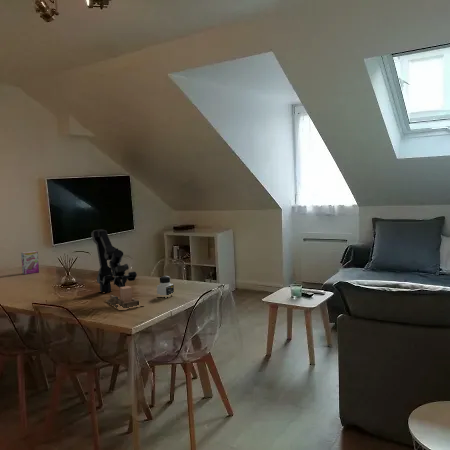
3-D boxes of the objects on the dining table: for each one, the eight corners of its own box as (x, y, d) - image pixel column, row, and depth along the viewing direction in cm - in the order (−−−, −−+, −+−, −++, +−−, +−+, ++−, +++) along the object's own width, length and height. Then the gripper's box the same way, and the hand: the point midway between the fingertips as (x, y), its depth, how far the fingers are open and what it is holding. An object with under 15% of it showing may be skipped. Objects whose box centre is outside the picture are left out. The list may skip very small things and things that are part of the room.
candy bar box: (24, 274, 345) (22, 253, 343) (22, 273, 349) (20, 252, 347) (39, 272, 352) (37, 251, 350) (37, 271, 356) (35, 250, 354)
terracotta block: (120, 303, 254) (119, 287, 253) (129, 301, 256) (128, 285, 255) (123, 305, 250) (122, 289, 249) (132, 303, 252) (131, 287, 251)
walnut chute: (105, 301, 262) (105, 294, 262) (128, 297, 270) (128, 290, 269) (119, 311, 242) (119, 304, 242) (144, 306, 250) (144, 299, 249)
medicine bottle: (166, 298, 264) (165, 278, 262) (157, 297, 267) (156, 277, 266) (174, 295, 270) (173, 275, 268) (164, 294, 274) (163, 274, 272)
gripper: (102, 261, 252) (110, 285, 244) (134, 257, 262) (143, 279, 254) (99, 273, 260) (106, 296, 252) (130, 268, 270) (138, 290, 262)
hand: (124, 290), depth 255 cm, fingers closed, pressing on terracotta block
